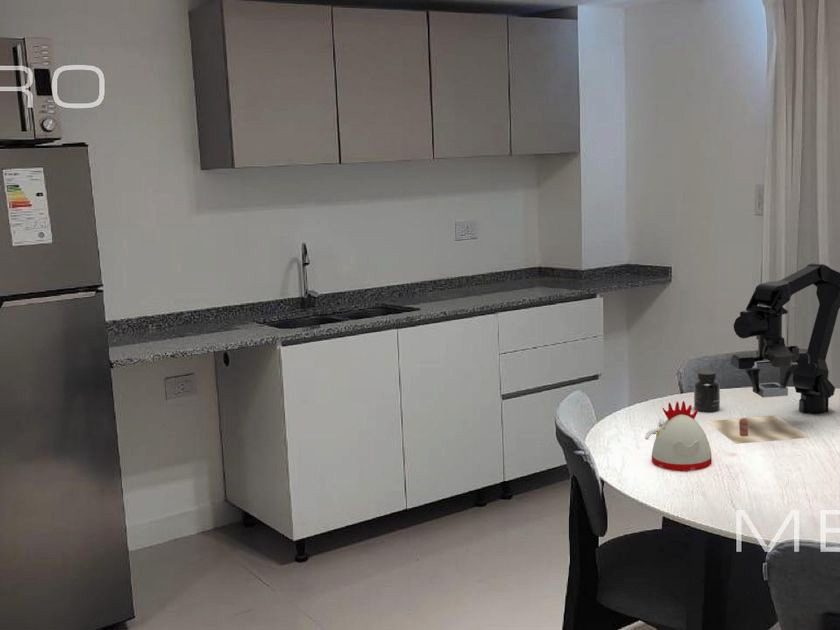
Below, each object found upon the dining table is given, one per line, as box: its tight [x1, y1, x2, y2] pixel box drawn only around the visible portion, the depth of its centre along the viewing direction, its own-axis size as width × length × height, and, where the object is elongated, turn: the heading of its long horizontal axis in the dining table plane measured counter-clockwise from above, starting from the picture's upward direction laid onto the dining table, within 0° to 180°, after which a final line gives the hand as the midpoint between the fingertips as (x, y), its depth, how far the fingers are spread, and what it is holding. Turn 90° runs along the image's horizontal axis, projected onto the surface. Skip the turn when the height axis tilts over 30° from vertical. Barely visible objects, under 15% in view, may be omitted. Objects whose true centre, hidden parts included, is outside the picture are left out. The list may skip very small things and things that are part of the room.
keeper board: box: [705, 415, 810, 444], centre depth 246 cm, size 19×20×6 cm
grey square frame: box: [752, 381, 789, 398], centre depth 248 cm, size 6×6×2 cm
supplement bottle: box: [693, 370, 721, 414], centre depth 266 cm, size 7×7×12 cm
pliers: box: [644, 418, 665, 440], centre depth 254 cm, size 10×2×15 cm
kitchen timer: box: [651, 400, 712, 472], centre depth 229 cm, size 14×14×15 cm
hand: (769, 391), depth 248 cm, fingers closed on grey square frame, 6 cm apart
